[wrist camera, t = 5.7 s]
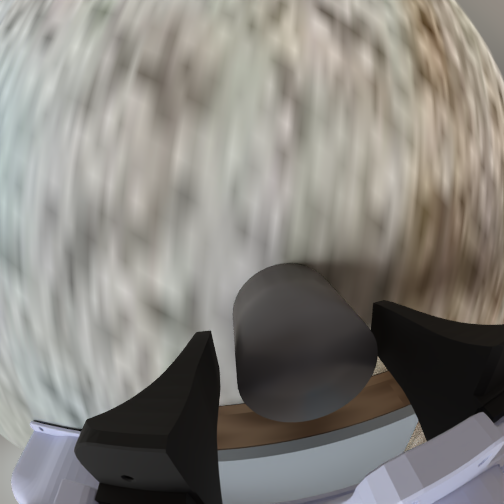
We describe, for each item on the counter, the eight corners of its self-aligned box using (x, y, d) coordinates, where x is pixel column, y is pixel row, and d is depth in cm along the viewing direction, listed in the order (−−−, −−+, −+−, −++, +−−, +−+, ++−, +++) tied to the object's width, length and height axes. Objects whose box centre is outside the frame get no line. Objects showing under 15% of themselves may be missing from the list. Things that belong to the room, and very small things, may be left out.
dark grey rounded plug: (240, 361, 14) (247, 430, 10) (225, 271, 13) (225, 326, 8) (333, 344, 15) (368, 404, 10) (333, 256, 13) (384, 297, 8)
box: (216, 487, 18) (217, 516, 15) (178, 408, 15) (172, 450, 12) (366, 458, 19) (378, 484, 16) (391, 369, 16) (415, 401, 13)
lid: (217, 517, 15) (217, 524, 14) (171, 451, 12) (170, 462, 11) (378, 484, 16) (381, 491, 15) (416, 402, 12) (422, 410, 12)
